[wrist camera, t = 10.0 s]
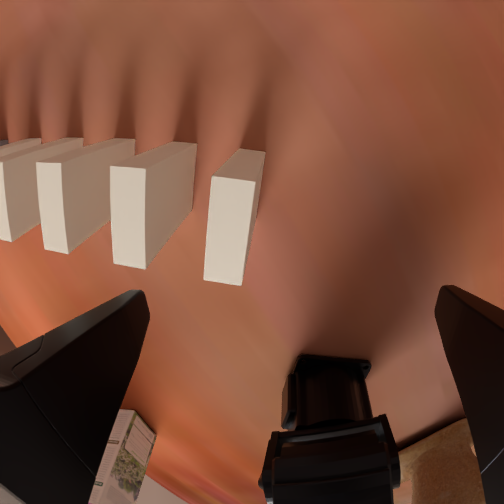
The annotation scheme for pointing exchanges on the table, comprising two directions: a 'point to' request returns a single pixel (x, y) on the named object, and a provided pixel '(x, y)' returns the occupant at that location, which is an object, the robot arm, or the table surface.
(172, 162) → the domino
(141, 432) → the syrup box
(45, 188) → the domino
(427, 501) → the stone cup
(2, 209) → the domino
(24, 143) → the domino
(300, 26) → the table surface
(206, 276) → the domino
